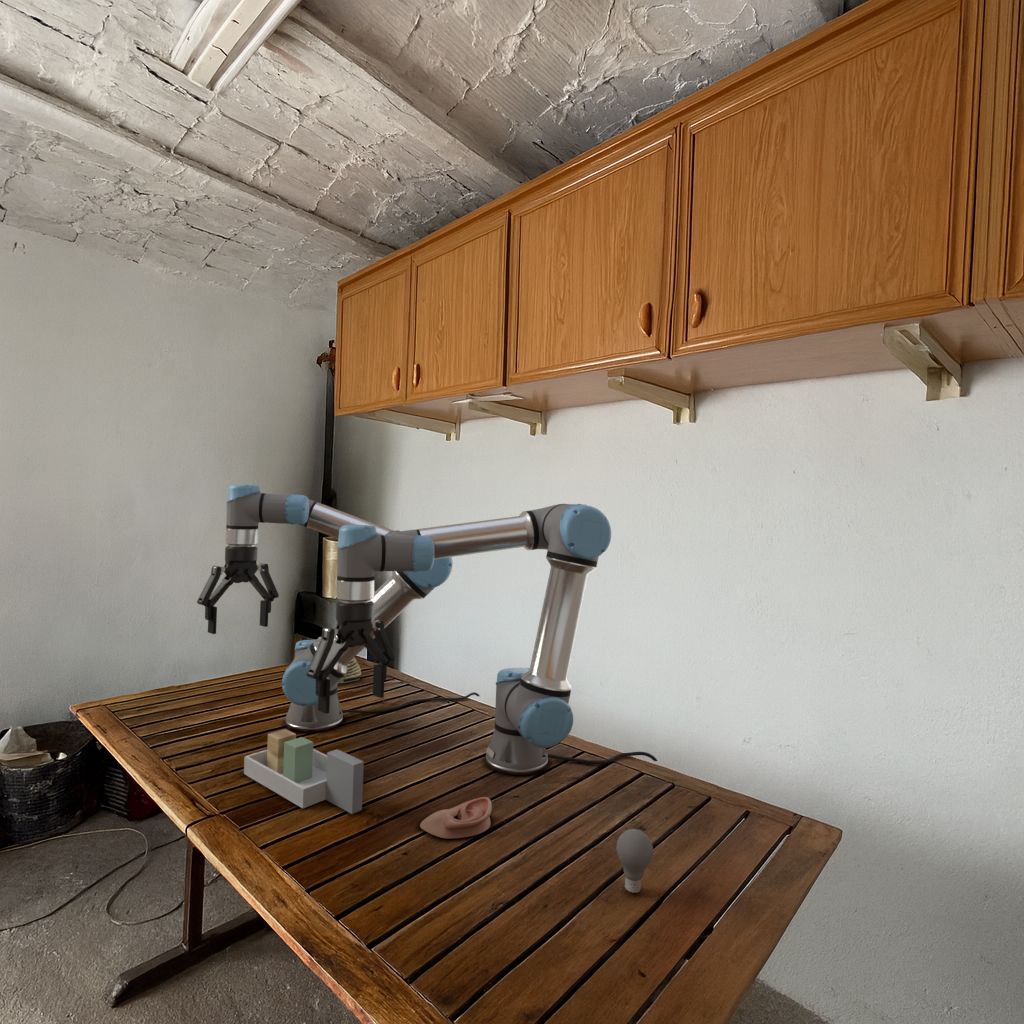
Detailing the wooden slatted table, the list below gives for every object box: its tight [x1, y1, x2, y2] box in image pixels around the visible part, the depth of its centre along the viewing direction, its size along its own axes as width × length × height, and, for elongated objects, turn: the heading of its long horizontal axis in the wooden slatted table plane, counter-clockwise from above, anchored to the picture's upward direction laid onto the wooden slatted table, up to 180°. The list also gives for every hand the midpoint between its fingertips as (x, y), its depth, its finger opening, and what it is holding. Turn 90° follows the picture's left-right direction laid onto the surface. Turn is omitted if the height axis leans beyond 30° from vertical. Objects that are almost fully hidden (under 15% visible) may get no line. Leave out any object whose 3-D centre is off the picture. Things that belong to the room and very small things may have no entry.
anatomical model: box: [419, 796, 493, 840], centre depth 124 cm, size 13×4×12 cm
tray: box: [243, 748, 365, 815], centre depth 138 cm, size 32×13×10 cm, turn 51°
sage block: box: [283, 736, 314, 783], centre depth 141 cm, size 4×4×8 cm
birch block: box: [266, 728, 297, 774], centre depth 145 cm, size 4×4×8 cm
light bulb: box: [615, 828, 654, 894], centre depth 106 cm, size 6×6×10 cm
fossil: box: [316, 636, 363, 684], centre depth 216 cm, size 9×18×15 cm, turn 132°
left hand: (238, 629), depth 160 cm, fingers open, 13 cm apart
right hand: (352, 703), depth 130 cm, fingers open, 13 cm apart
